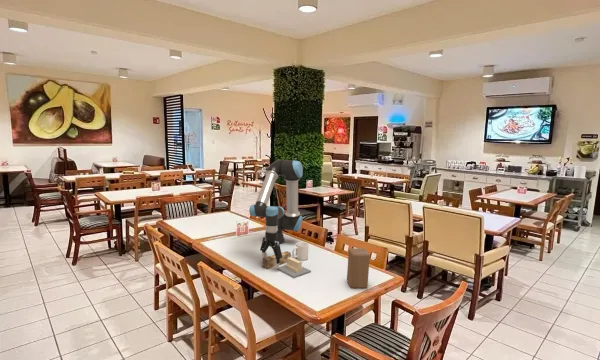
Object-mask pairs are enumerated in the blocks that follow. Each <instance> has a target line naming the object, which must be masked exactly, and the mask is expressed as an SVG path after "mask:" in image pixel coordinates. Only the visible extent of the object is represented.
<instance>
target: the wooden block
mask: <svg viewBox="0 0 600 360" xmlns="http://www.w3.org/2000/svg"><path fill="white" fill-rule="evenodd" d="M347 257H348V258H347V273H346V281H347V283H348V285H349V287H350V289H367V288H368V286H369V285H368V284H369V270H370V258H371V254H370V253H369V252H368V250H367V249H366V248H357V247H356V248H355V247H354V248H353V247H352V248H351V247H350V248H349V249H348V255H347Z"/></svg>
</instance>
